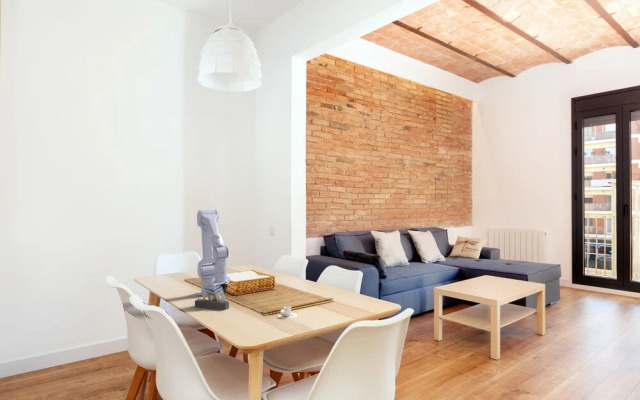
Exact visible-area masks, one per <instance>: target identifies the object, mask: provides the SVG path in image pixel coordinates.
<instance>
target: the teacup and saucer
mask: <svg viewBox="0 0 640 400" xmlns="http://www.w3.org/2000/svg"><path fill="white" fill-rule="evenodd" d="M282 315H284V317H283V316H282ZM291 315H293V316H291ZM297 316H298V315H297V313H295V312H292V306H289V305H285V306H284V307H283V309H281V310H280V313H279V314H278V315H277V317H278V318H280V319H285V320H287V319H293V318H296V317H297Z"/></svg>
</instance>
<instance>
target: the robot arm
mask: <svg viewBox="0 0 640 400" xmlns="http://www.w3.org/2000/svg"><path fill="white" fill-rule="evenodd" d="M196 214H197V215H196V221H197V222H196V223H197V227H200V231H201V246H202V247H201V248H202V259H200V261H199V262H198V263H197V269H196V270H197V276H198V277H199V278H200V292H199V293H198V294H197V296H202V297H203V295H205V296H206V297H207V294H206V291H205V287H207V286H208V285H210V284H211V288H213V289H215V288H216V285H220V286H221V287H222V290H223V292H224V295H226V291H227V288H228V286H229V284H228V283H230V282H231V277H229V276H228V266H227V265H228V264H227V263H228V262H227V261H228V260H227V258H228V257H229V248H228V246H227V244H225V242H224V239H223V236H222V234H220V233H219V228H218V221H219V218H220V217H219V216H220V215H219V211H218V209H205V210H202V209H199V210H198V211H197V213H196Z"/></svg>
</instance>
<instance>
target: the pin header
mask: <svg viewBox="0 0 640 400" xmlns="http://www.w3.org/2000/svg"><path fill="white" fill-rule="evenodd" d="M206 298H207V296H205V295H203V296H202V298H197V299H195V300H194V307H195V308H199V309H200V308H202V309H210V310H211V309H212V310H225V311H226V310H228V309H230V301H229V300H226V301H221V296H218V300H213V295H211V296H210V300H209V299H206Z"/></svg>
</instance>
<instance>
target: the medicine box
mask: <svg viewBox="0 0 640 400" xmlns="http://www.w3.org/2000/svg"><path fill="white" fill-rule="evenodd" d="M205 291H206V294H207V296H206V298H207V300H210V296H211V295H213V300H218V296H221V301H227V298H226V296H225V295H226V294H225V295H224V292H223V290H222V287H221V286H220V285H216V288H215V289H213V288H211V284H210V285H208V286H207V287H205Z"/></svg>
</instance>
